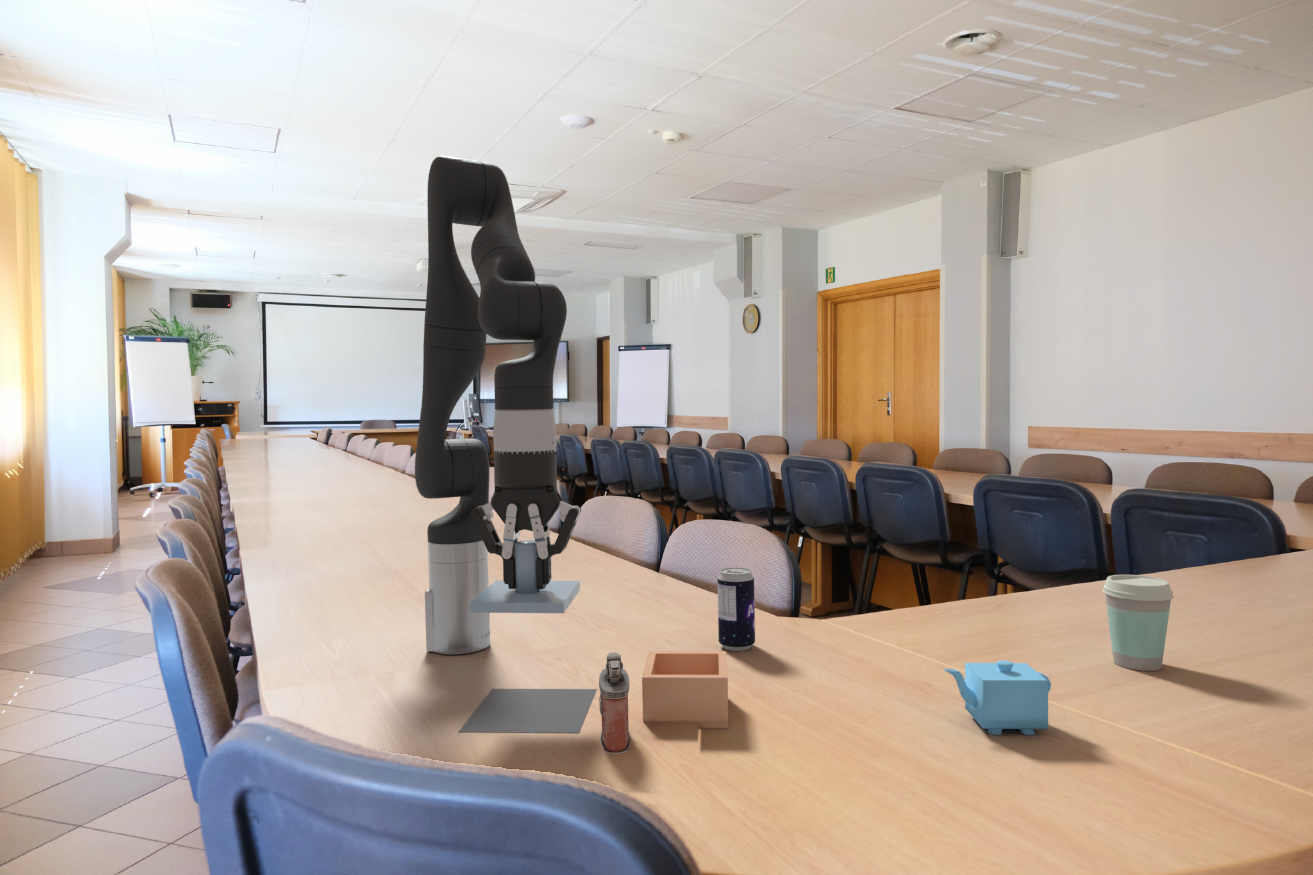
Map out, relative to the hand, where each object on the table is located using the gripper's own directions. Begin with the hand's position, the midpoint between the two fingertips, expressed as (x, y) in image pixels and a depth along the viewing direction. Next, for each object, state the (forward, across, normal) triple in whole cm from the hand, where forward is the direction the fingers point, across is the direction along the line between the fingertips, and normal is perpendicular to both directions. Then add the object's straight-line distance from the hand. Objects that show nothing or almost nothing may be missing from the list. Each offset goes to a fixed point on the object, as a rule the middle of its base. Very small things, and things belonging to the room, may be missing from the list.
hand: (527, 587), depth 97 cm
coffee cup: (+16, +82, +20) cm, 86 cm away
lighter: (+16, +12, -8) cm, 21 cm away
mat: (+16, 0, 0) cm, 16 cm away
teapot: (+16, +55, -2) cm, 58 cm away
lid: (+2, 0, 0) cm, 2 cm away
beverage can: (+16, +26, +28) cm, 42 cm away
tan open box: (+16, +19, +1) cm, 25 cm away
